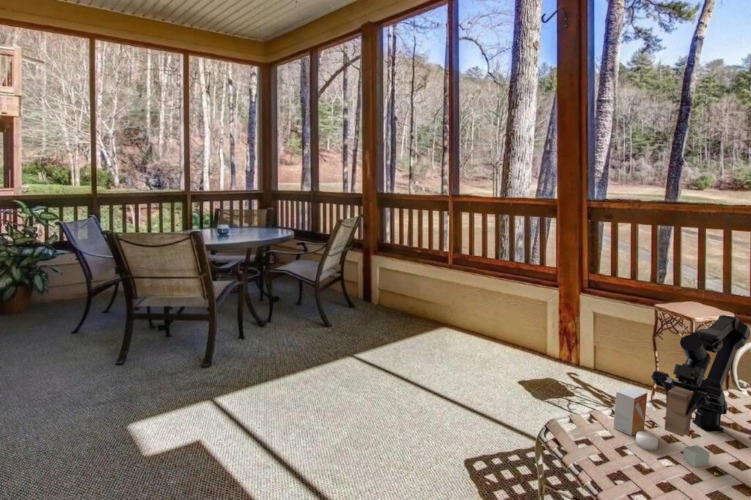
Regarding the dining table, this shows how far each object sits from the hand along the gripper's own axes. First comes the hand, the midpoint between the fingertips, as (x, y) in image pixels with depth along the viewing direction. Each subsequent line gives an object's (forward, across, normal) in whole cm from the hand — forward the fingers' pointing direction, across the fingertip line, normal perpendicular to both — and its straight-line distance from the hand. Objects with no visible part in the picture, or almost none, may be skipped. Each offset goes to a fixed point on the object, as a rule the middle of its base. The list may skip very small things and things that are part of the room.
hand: (676, 411), depth 146 cm
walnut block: (+4, 0, +6) cm, 7 cm away
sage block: (+9, +6, +10) cm, 15 cm away
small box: (+7, -15, +13) cm, 21 cm away
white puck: (+11, -7, +8) cm, 15 cm away
